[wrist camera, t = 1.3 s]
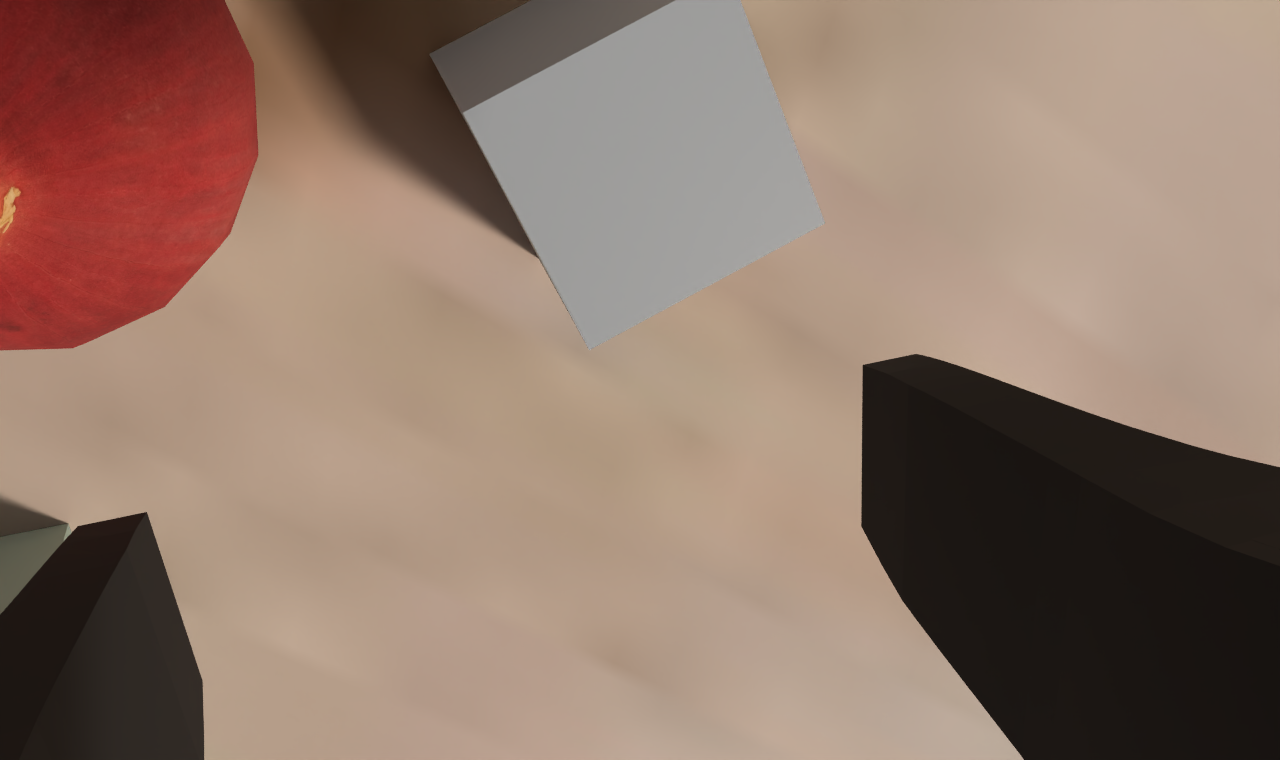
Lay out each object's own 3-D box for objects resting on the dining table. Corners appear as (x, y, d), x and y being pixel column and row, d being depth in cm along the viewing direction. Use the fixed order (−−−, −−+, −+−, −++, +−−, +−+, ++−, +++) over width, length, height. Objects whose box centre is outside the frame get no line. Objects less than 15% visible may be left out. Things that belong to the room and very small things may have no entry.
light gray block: (735, 151, 21) (825, 223, 18) (537, 256, 21) (588, 349, 18) (648, -63, 19) (729, -29, 16) (428, 52, 19) (462, 112, 16)
